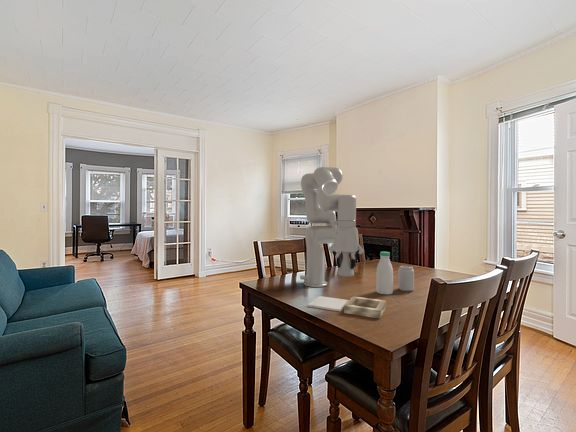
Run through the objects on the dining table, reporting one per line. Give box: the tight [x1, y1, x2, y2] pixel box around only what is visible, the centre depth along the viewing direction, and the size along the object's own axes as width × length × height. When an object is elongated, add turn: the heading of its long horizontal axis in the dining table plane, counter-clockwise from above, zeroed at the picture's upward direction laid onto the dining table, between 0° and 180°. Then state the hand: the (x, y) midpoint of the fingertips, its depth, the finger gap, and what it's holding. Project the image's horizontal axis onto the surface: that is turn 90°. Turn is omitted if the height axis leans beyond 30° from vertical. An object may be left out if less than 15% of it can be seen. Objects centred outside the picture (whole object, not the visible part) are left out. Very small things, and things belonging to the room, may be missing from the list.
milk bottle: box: [375, 251, 394, 295], centre depth 151 cm, size 8×8×20 cm
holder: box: [343, 296, 387, 320], centre depth 126 cm, size 14×14×3 cm
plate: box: [307, 295, 350, 312], centre depth 134 cm, size 14×14×1 cm
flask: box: [337, 252, 355, 278], centre depth 130 cm, size 7×7×10 cm
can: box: [397, 265, 415, 292], centre depth 156 cm, size 8×8×12 cm
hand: (345, 267), depth 130 cm, fingers closed on flask, 5 cm apart
